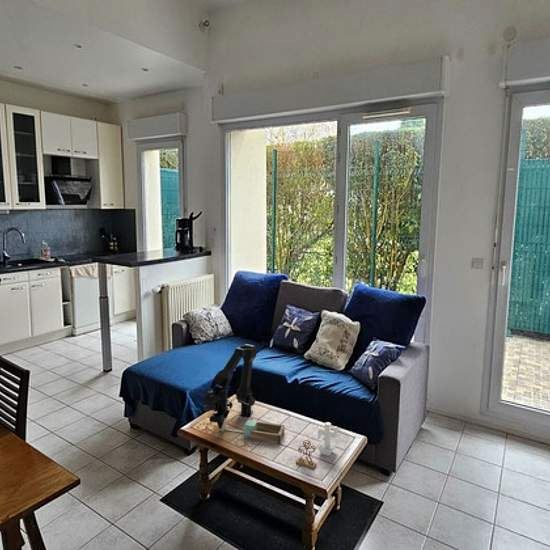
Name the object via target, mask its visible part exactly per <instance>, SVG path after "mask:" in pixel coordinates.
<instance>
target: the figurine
mask: <svg viewBox="0 0 550 550" xmlns="http://www.w3.org/2000/svg"><path fill="white" fill-rule="evenodd" d="M331 429H332V423H331V422H329V421H327V422H325V423H324V427H319V428H318V429H317V439H319V440H320V439H322V436H323V435H324V439H322V440H321V441H320V442H319V444H318V445H317V446H316V448H317V450H318V452H319V453H320V455H325V456H327V457H329V456H331V454H332V453H333V451H334V450H335V448H336V446H337V444H338V443H334V442H331V438H334V439H336V438H337V437H338V426H335V425H334V427H333V430H331Z"/></svg>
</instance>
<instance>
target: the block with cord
mask: <svg viewBox="0 0 550 550" xmlns="http://www.w3.org/2000/svg"><path fill="white" fill-rule="evenodd" d="M251 430H254V431H257V420H249V419H247V420H246V422H245V423H244V431H243V430H237V429H232V428H231V429H230V428H227V418H225V420H224V423H223V425H222V428H221V429H219V431H220V432H225V431H228V432H234V433H240V434H241V433H242V434H244V437H248V438H249V437H250V438H251Z"/></svg>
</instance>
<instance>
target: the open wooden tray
mask: <svg viewBox="0 0 550 550" xmlns="http://www.w3.org/2000/svg"><path fill="white" fill-rule="evenodd" d="M256 421H257V420H256ZM284 435H285V424H278V423H271V422H265V421H257V431H254V430H251V437H250V440H251V441H257V442H264V443H271V444H275V445H280V444H281V443H282V440H283V437H284Z"/></svg>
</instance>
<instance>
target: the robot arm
mask: <svg viewBox="0 0 550 550" xmlns="http://www.w3.org/2000/svg"><path fill="white" fill-rule="evenodd" d="M257 354H258V348H257V346H256V345H252V344H248V343H244V344H243V345H239V346H238V347H236V348H235V349H234V350H233V353H232V355H231V357H230V358H229V360H228V361H227V363H226V364H225V366H224V367H223V369H221V370H219V371H217V372H216V374H215V376H214V377H213V380H212V382H211V385H210V387H209V389H210V391H207V392H206V394H205V395H204V397H203V402H204V404H205V405H204V411H205V412H207V413H208V412H211V411H213V413H211V415H210V417H209V422H210V423H215V424H217V427H218V429H219V430H220V429H221V428H222V425H223V423H224V420H225V418H226V419H227V418H228V416H229V414H230V411H231V409H232V408H233V402H232V401H230V400H229V398H228V389H230V388H231V386H230V383H231V380H232V374H233V372H234V371H235V369H236V367H238V364H239V363H240V361H241V360H243V363H242V370H241V371H242V372H241V374H242V375H241V382H240V386H239V388H238V389H236V394H235V397H236V400H237V403H238V404H240V412H239V413H238V415H239V416H243V417H251V416H252V414H253V412H254V410H252V406H253V407H254V405H255V403H256V398H254V397H253V391H252V389H251V382H252V381H251V379H252V371H253V362H254V360H255V359H256V357H257Z"/></svg>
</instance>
